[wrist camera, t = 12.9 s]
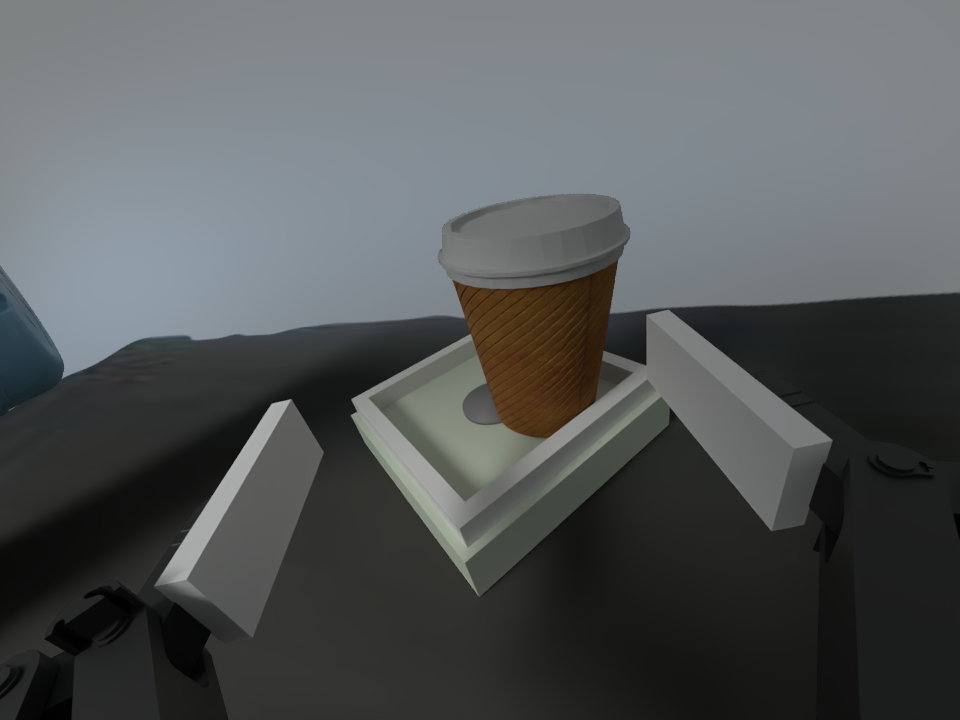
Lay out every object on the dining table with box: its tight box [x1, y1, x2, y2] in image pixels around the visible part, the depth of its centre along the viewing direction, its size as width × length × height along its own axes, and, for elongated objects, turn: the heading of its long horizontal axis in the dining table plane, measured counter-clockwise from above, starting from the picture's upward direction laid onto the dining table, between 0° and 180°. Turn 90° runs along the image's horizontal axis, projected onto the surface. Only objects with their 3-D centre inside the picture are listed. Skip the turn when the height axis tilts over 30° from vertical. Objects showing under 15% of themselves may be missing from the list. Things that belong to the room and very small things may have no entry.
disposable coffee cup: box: [438, 194, 630, 438], centre depth 22 cm, size 10×10×12 cm
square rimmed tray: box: [351, 334, 670, 597], centre depth 27 cm, size 16×16×4 cm
